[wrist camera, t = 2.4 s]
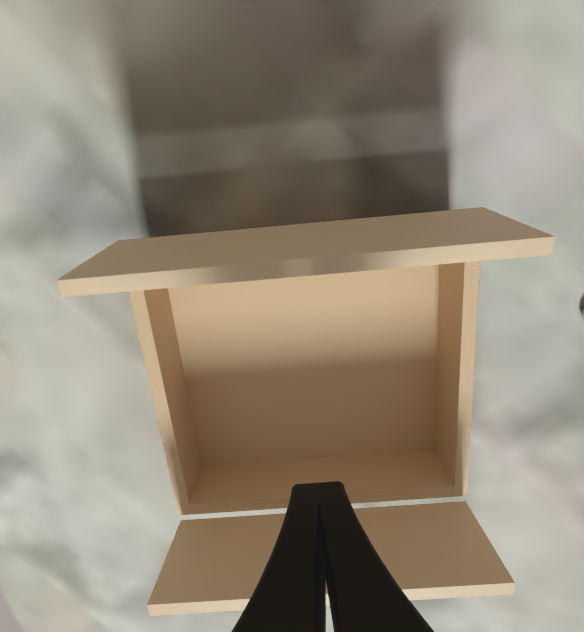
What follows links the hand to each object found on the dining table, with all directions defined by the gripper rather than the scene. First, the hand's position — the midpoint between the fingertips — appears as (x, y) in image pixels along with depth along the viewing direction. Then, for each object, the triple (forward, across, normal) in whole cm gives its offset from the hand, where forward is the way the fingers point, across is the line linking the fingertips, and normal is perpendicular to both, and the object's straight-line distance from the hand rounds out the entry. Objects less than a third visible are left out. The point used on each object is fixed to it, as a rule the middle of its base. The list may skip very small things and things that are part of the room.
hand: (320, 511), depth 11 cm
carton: (+10, 0, 0) cm, 10 cm away
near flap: (+4, 0, -6) cm, 8 cm away
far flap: (+4, 0, +6) cm, 7 cm away
